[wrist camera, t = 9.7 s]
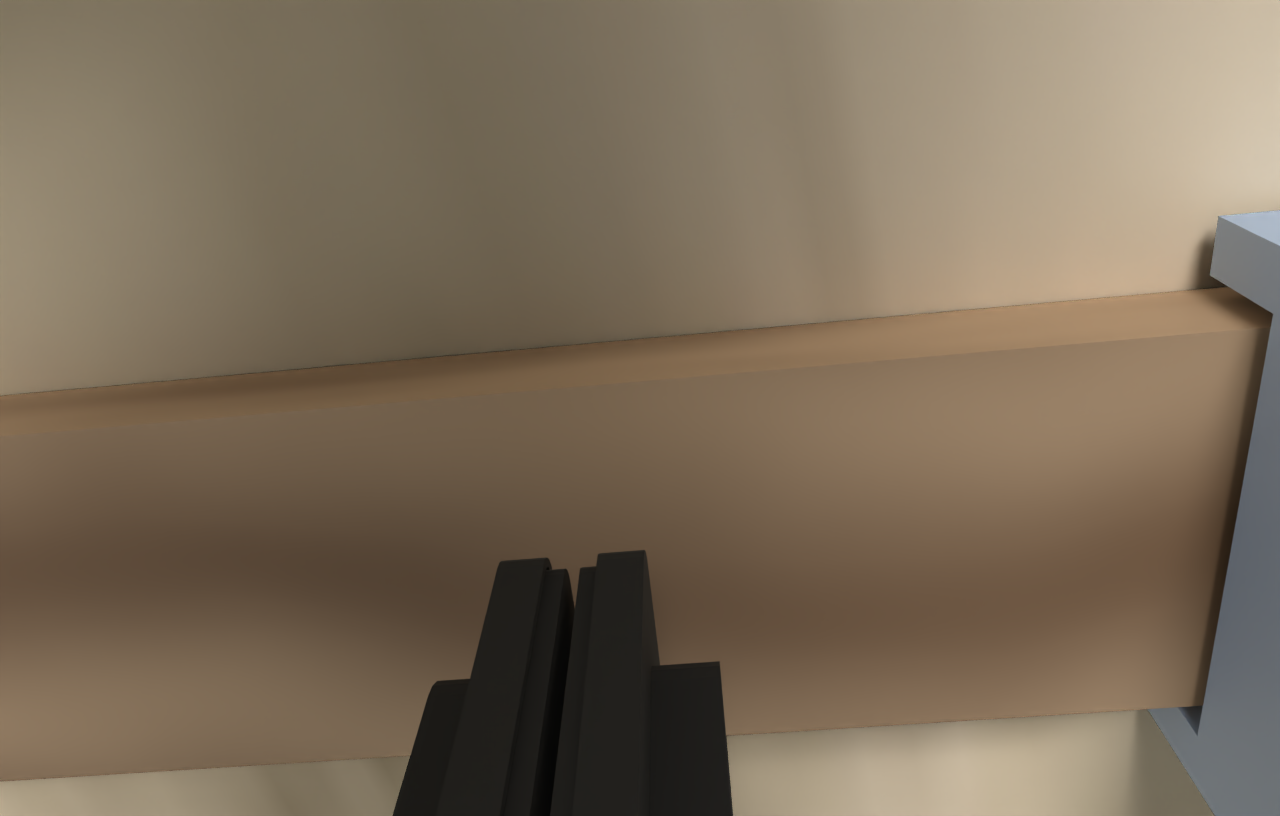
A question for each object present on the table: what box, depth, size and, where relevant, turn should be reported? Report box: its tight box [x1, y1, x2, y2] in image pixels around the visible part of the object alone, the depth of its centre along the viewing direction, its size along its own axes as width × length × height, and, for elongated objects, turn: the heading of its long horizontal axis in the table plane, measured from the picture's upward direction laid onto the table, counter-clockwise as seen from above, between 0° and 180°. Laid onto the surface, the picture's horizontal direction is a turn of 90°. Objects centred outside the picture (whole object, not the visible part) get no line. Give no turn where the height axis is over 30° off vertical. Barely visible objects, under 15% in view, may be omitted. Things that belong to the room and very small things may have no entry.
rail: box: [0, 287, 1273, 781], centre depth 12 cm, size 8×34×6 cm, turn 96°
